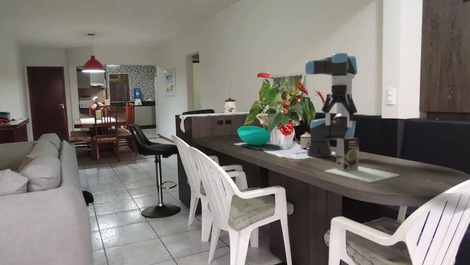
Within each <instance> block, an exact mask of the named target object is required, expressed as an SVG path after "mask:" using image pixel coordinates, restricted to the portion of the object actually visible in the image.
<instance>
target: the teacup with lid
mask: <svg viewBox="0 0 470 265" xmlns="http://www.w3.org/2000/svg"><path fill="white" fill-rule="evenodd" d="M309 146H310V133H309V132H308V131H307V132H306V131H305V133H304V134H302V135H300V149H301V148H309Z"/></svg>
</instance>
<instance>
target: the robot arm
mask: <svg viewBox="0 0 470 265" xmlns="http://www.w3.org/2000/svg"><path fill="white" fill-rule="evenodd" d="M357 65H358V64H357V58H356V56H354V55H348V53H346V52H339V53H338V52H337V53H333V54H332V55H331V56H328V57H324V58H320V59H318V60H317V59H315V60H313V59H311V60H306V62H305V66H304V67H305V68H304V70H305V73H306V75H327V76H331V93H328V94H326V97H325V100H324V102H323V106H322V108H321V112H323V113H324V118H317V119H313V120H311V122H310V127H309V129H310V133H309V134H310V146H309V149H307V154H306V155H307V156H308V155H309V156H308V157H311V156H313V158H331V157H332V156H333V152H332V149H331V145H330V140H335V141H337V138H347V137H352V138H354V135H355V129H356V124H357V123H356V122H357V121H356V120H354V114H358V109H357V107H356V105H355V102H354V100H353V94H352V93H353V92H352V91H353V90H352V88H353V87H352V86H353V80H354V79H355V77H356V75H357V74H358V66H357ZM335 104H336V114H335V116H334V117H333V120H331V110H332V108H333V107H334V106H335Z"/></svg>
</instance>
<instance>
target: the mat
mask: <svg viewBox="0 0 470 265" xmlns="http://www.w3.org/2000/svg"><path fill="white" fill-rule="evenodd" d="M323 172H324V173H327V174H332V175H337V176H340V177H343V178H347V179H348V178H349V179H353V180H357V181H361V182H366V183H368V184H372V183H376V182H380V181H383V180H388V179H393V178H396V177H400V174H399V173H393V172H388V171H383V170H379V169H374V168H370V167H369V168H368V167H362V166H359V165H358V170H352V171H341V170H338V169H336V168H331V169H326V170H324V171H323Z"/></svg>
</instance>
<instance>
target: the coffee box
mask: <svg viewBox="0 0 470 265" xmlns="http://www.w3.org/2000/svg"><path fill="white" fill-rule="evenodd" d="M359 152H360V138H359V137H353V138H352V137H347V138H337V140H336V162H335V163H336V164H335V169H338V170H341V171H352V170H358V166H359V154H360V153H359Z"/></svg>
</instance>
